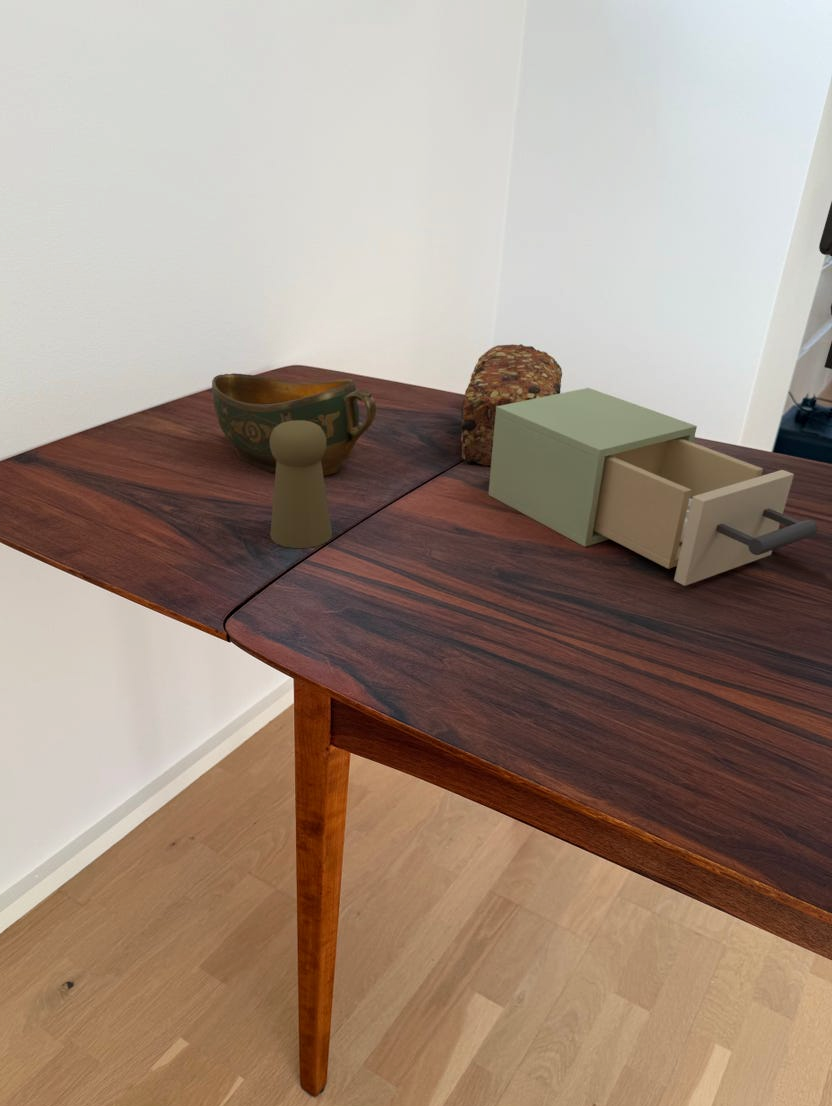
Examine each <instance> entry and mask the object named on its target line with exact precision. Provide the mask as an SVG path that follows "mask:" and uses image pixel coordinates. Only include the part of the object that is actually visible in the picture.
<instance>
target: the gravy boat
mask: <svg viewBox="0 0 832 1106" xmlns="http://www.w3.org/2000/svg"><path fill="white" fill-rule="evenodd" d="M211 392H212V402H213V408H214V412H215V415H216V418H217V422H218V424H219V426H220V428H221V431H222V433H223V434H224V436H225V438H226V439H227V441H228V442H229V444H230V445H231V446H232V447H233V449H234V452H235V454H236V455H237V457H238V458H239V459H240V460H242V461H244V462H245V463H247V464H249V465H250V466H251V465H252V466H254V467H256V468H258V469H261V470H264V471H267V472H271V473H273V474H276V462H277V460H276V459H275V458H274V457H273V455H272V452H271V449H270V436H271V433H272V431H273V430H274V428H275V427H276V426H278V425H279V424H281V423H284V422H288V421H296V420H301V421H310V422H313V423H315V424H317V425H319V426H320V427H321V428H322V430H323V431H324V433H325V436H326V449H325V453H324V455H323V457H322V458H321V464H322V471H323V477H325V476H330V475H333V474H336V473H338V472H339V471H340V470H341V469H342V467H343V462H344V461H345V460H349V459H350V458H351V453H352V451H353V449H354V447H355V445H356V443H357V442H358V440H359V439H360V438H361V436H362V435H363V434H364V433H365V432H366V431H367V430H368V429H369V428H370V427H371V426H372V425H373V423H374V420H375V418H376V414H377V407H376V406H377V404H376V401H375V398H374V397H373V393H372V392H370V391H368V390H366V389H357V386H356V383H355V380H354V379H352V378H346V379H345V378H343V379H335V380H325V381H323V380H322V381H318V382H317V381H316V382H315V381H313V382H301V381H292V380H285V379H277V378H272V377H266V376H261V375H254V374H253V375H252V374H246V373H224V374H218V375H216V376H214V377H213V378H212V381H211ZM359 401H360V402H361V403H363V404H364V405H365V408H366V419H365V422H364V423H363V424H361V426H360V425H359V424H360V408H359V407H360V406H359ZM359 426H360V427H359Z"/></svg>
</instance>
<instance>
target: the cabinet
mask: <svg viewBox="0 0 832 1106" xmlns="http://www.w3.org/2000/svg"><path fill="white" fill-rule="evenodd" d="M697 427H698V426H697V425H695V424H692V423H690V422H687V421H684V420H681V419H679V418H675V417H672V416H669V415H667V414H664V413H662V412H659V411H656V410H653V409H649V408H647V407H645V406H641V405H638V404H635V403H633V402H630V401H627V400H624V399H621V398H619V397H616V396H613V395H610V394H608V393H604V392H602V391H598V390H596V389H593V388H590V387H585V388H580V389H575V390H570V391H565V392H560V394H555V395H550V396H545V397H541V398H536V399H531V400H526V401H521V402H516V403H511V404H506V405H501V406H497V407H496V415H495V426H494V437H493V449H492V460H491V466H490V473H489V483H488V494H487V495H488V496H489V497H491V498H493V499H495V500H497V501H499V502H501V503H503V504H505V505H506V506H508V507H510V508H511V509H514V510H515V511H517V512H519V513H521V514H523V515H525V516H526V517H529V518H531V519H532V520H534V521H536V522H537V523H540V524H541V525H543V526H545V527H547V528H549V529H551V530H553V531H554V532H556V533H558V534H559V535H561V536H564V537H566V538H568V539H570V540H571V541H573V542H575V543H577V544H579V546H580V545H581V546H582V547H584V548H586V547H589V546H590V547H591V546H593V545H596V544H599V543H602V542H606V541H609V540H610V539H609V538H607V537H605V536H603V535H601V534H599V533H597V532H596V531H594V530H593V529H594V522H595V516H596V510H597V504H598V498H599V491H600V485H601V479H602V473H603V467H604V460H605V456H609V455H613V454H617V453H621V452H625V451H629V450H633V449H637V448H641V447H645V446H649V445H653V444H657V443H661V442H665V441H669V440H673V439H677V438H682V439H684V440H687V441H690V442H693V443H695V442H694V441H695V437H696V433H697V429H698V428H697Z"/></svg>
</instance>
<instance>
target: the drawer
mask: <svg viewBox="0 0 832 1106" xmlns="http://www.w3.org/2000/svg"><path fill="white" fill-rule="evenodd" d="M763 471H764V469H763V467H760V466H757V465H754V464H752V463H749V462H746V461H744V460H741V459H738V458H737V457H736V458H735V457H733V456H731V455H728V454H726V453H722V452H720V451H717V450H714V449H711V448H709V447H706V446H703V445H700V444H698V443H695V442H690V441H687V440H684V439H682V438H677V439H673V440H669V441H665V442H661V443H657V444H653V445H649V446H645V447H641V448H637V449H633V450H629V451H625V452H621V453H617V454H613V455H609V456H605V460H604V467H603V473H602V479H601V485H600V491H599V498H598V504H597V510H596V516H595V522H594V529H593V530H594V531H596V532H597V533H599V534H601V535H603V536H605V537H607V538H609V540H611V541H613V542H615V543H617V544H619V545H620V546H623V547H625V548H627V549H629V550H631V551H633V552H634V553H636V554H637V555H640V556H642V557H644V558H646V559H647V560H650V561H652V562H653V563H655V564H658V565H660V566H662V567H664V568H666V569H667V570H669V569H672V568H675V567H676V569H675V573H674V578H673V581H674V582H676V583H678V584H680V585H681V586H685V587H686V586H689V585H692V584H694V583H697V582H699V581H702V580H705V579H708V578H711V577H714V576H717V575H719V574H722V573H724V572H727V571H730V570H733V569H736V568H739V567H741V566H745V565H747V564H749V563H752V562H755V561H758V560H761V559H763V558H766V557H769V556H771V555H772V553H773V550H778V549H780V548H782V547H786V546H788V545H791V544H794V543H797V542H799V541H802V540H805V539H807V538H810V537H813V536H815V535H816V534H817V532H818V530H819V528H818V527H819V526H818V524H817V522H815V521H814V520H812V519H805V520H802V521H801V520H798V519H796V518H794V517H791V516H789V515H787V514H784V512H785V508H786V505H787V501H788V497H789V493H790V490H791V486H792V483H793V480H794V477H795V474H794V473H793V472H790V471H787V470H784V469H779V470H777V471H774V472H771V473H767V474H763ZM762 474H763V475H762ZM689 499H692V502H691V506H690V511H689V515H688V520H687V524H686V529H685V533H684V538H683V542H680V539H681V534H682V530H683V525H684V521H685V516H686V512H687V507H688V503H689ZM780 525H784V526H785V527H782V528H780Z"/></svg>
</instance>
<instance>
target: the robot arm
mask: <svg viewBox="0 0 832 1106" xmlns="http://www.w3.org/2000/svg"><path fill="white" fill-rule="evenodd" d="M818 250H819V252H820V253H821V254H822V255H824V256H827V255H828V256H830V257H832V201H831V202H830V206H829V210H828V213H827V216H826V220H825V222H824V227H823V230H822V234H821V238H820V242H819V246H818ZM830 316H832V303H831V304H830ZM823 367H824V368H825V369H829V370H832V341H830V345H829V348H828V351H827V357H826V359H825V364H824V366H823Z"/></svg>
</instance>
